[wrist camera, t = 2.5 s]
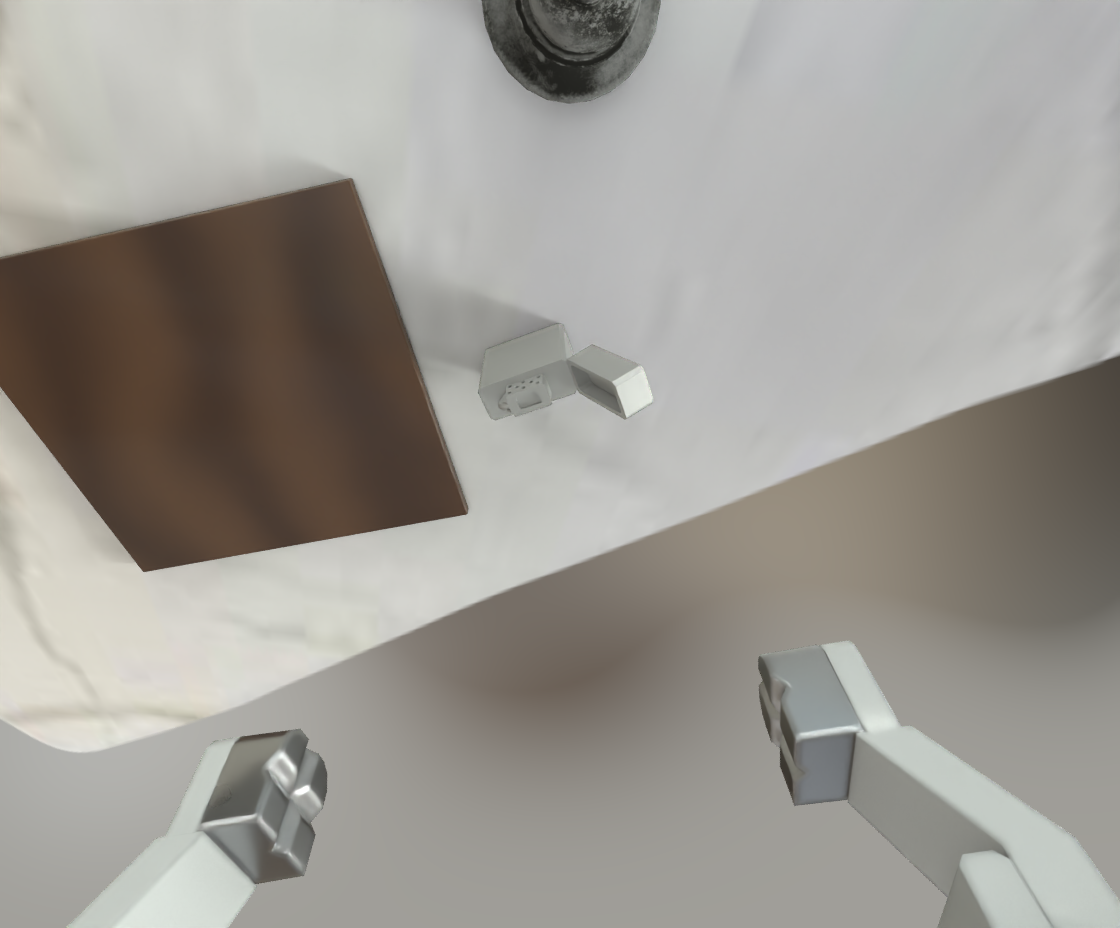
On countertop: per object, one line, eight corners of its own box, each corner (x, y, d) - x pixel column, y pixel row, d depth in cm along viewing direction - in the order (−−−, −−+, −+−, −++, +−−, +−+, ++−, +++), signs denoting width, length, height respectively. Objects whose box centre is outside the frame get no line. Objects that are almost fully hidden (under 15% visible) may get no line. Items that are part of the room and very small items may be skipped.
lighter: (497, 380, 32) (486, 467, 25) (483, 350, 31) (468, 432, 24) (630, 333, 31) (657, 411, 24) (620, 300, 30) (645, 372, 23)
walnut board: (352, 177, 26) (348, 180, 26) (468, 508, 36) (467, 514, 36) (-74, 273, 28) (-86, 277, 28) (148, 565, 38) (143, 572, 37)
